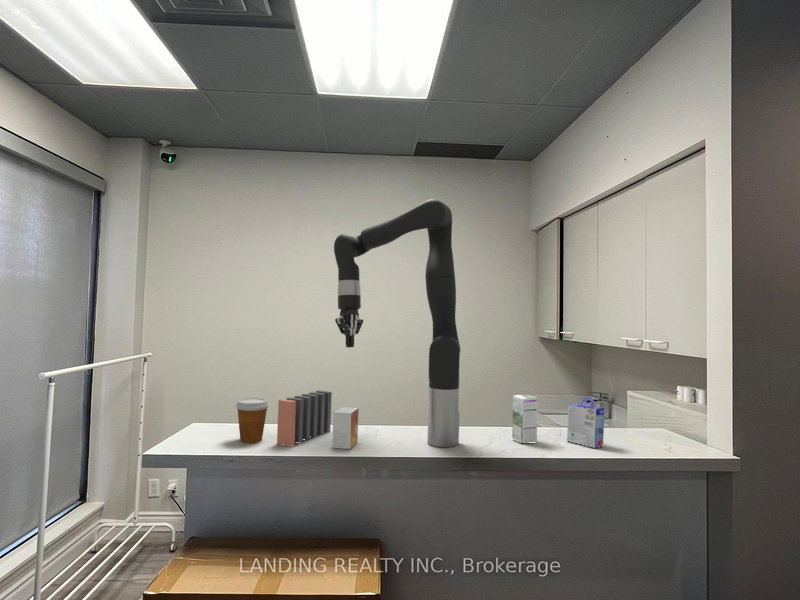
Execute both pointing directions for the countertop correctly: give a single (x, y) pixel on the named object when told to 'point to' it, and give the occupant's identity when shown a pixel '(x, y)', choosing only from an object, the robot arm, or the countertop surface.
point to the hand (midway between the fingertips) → (350, 347)
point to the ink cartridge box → (585, 423)
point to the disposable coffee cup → (251, 418)
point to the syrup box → (524, 418)
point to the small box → (345, 428)
